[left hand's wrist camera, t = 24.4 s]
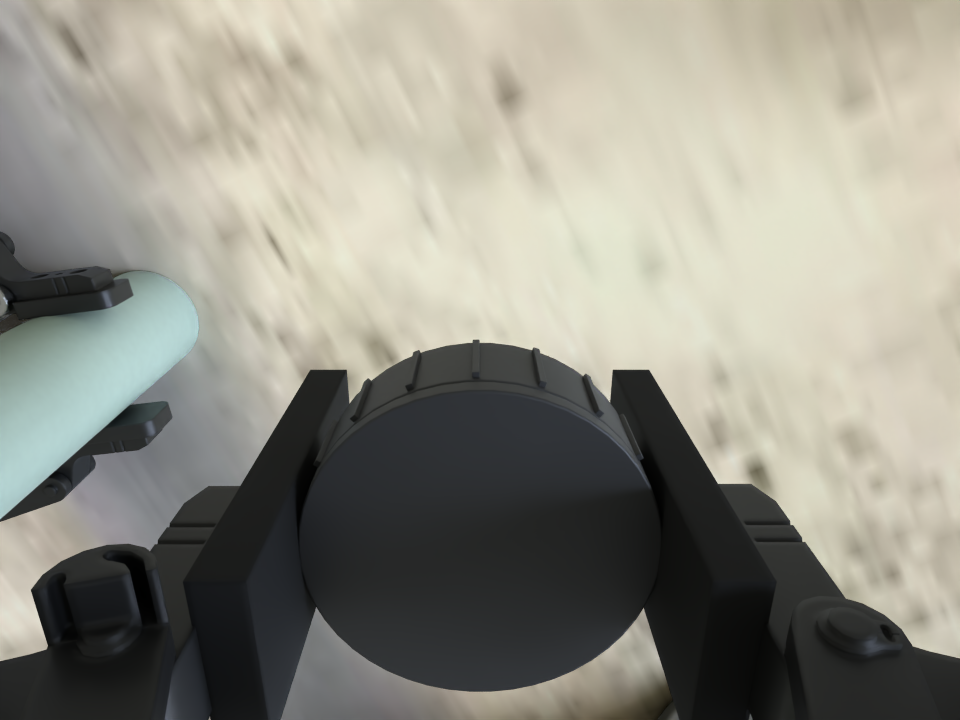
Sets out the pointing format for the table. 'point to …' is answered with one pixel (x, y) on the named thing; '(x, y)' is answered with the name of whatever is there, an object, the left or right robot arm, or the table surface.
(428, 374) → the lid
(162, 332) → the mint green bottle
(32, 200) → the table surface
